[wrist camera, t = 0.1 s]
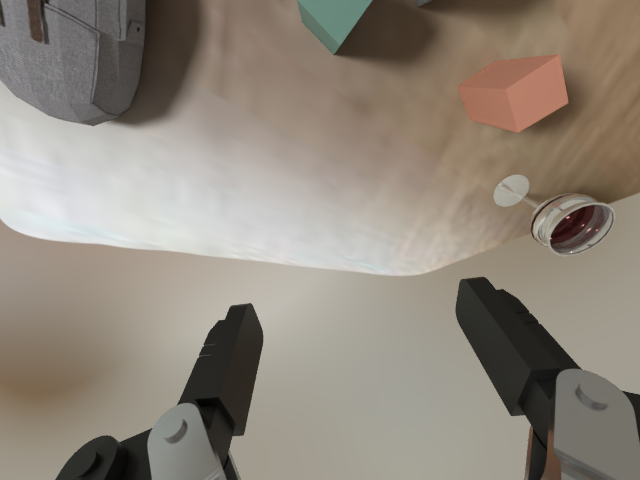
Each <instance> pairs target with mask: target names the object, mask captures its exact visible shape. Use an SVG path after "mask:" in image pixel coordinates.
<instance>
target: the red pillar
mask: <svg viewBox="0 0 640 480" xmlns="http://www.w3.org/2000/svg"><path fill="white" fill-rule="evenodd" d="M458 89H459V92H460V95H461V97H462V100H463V103H464V105H465V108H466V111H467V113H468V116H469V119H470V120H472V121H475V122H479V123H483V124H487V125H491V126H495V127H498V128H502V129H506V130H510V131H514V132H518V133H519V132H520V131H522V130H524V129H525V128H527V127H529V126H530V125H532V124H534V123H535V122H537V121H539V120H541V119H542V118H544V117H546V116H547V115H549V114H551V113H552V112H554V111H556V110H557V109H559V108H561V107H562V106H564V105H566V104H567V103H569V102H568V97H567V92H566V86H565V81H564V76H563V70H562V65H561V60H560V54H558V55H548V56H539V57H530V58H520V59H511V60H501V61H495V62H493V63H492V64H490V65H489V66H487V67H486V68H484V69H483V70H482V71H480V72H479V73H477V74H476V75H474V76H473V77H471V78H470V79H468V80H467V81H465V82H464V83H463V84H461V85H460V86H458Z"/></svg>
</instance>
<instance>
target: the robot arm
mask: <svg viewBox="0 0 640 480" xmlns="http://www.w3.org/2000/svg"><path fill="white" fill-rule="evenodd" d="M456 316H457V320H458V323H459V325H460V327H461V329H462V330H463V332H464V334H465V336H466V337H467V339H468V341H469V343H470V344H471V346H472V348H473V349H474V351H475V353H476V355H477V357H478V358H479V360H480V362H481V364H482V366H483V367H484V369H485V371H486V373H487V375H488V376H489V378H490V380H491V381H492V383H493V385H494V387H495V388H496V390H497V392H498V394H499V396H500V397H501V399H502V401H503V403H504V405H505V406H506V408H507V410H508V411H509V413H510V415H511V416H518V415H526V417H527V419H528V420H529V422H530V424H531V427H530V430H529V439H528V449H527V458H526V468H525V478H524V480H640V395H639V394H634V393H629V392H625V391H621V390H620V389H619V388H617V387H616V386H615V385H614V384H612V383H611V382H609V381H608V380H606V379H605V378H603V377H601V376H599V375H597V374H594V373H592V372H589V371H586V370H582V369H581V368H580V367H579V366H578V365H577V364H576V363H575V362H574V361H573V359H572V358H571V357H570V356H569V355H568V354H567V353H566V352H565V351H564V350H563V348H562V347H561V346H560V345H559V344H558V343H557V342H556V341H555V339H554V338H553V337H552V336H551V335H550V334H549V333H548V332H547V330H546V329H545V328H544V327H543V326H542V325H541V324H539V323H538V320H537V319H536V318H535V317H534V316H533V315H532V314H530V313H529V311H528V309H527V308H526V307H525V306H524V305H523V304H522V303H521V302H520V300H519V299H517V298H516V297H514V296H513V295H511V294H509V293H508V292H506V291H505V290H503V289H501V290H496V289H495V288H494V287H493V285H492V284H491V283H490V282H489V281H488V279H486V278H485V277H477V278H468V279H462V280H461V281H460V283H459V290H458V296H457V302H456ZM262 346H263V331H262V328H261V325H260V322H259V320H258V317H257V315H256V312H255V310H254V308H253V305H252V304H251V303H249V304H240V305H232V306H231V307H230V308H229V311H228V313H227V316H226V318H225V320H219V321H218V322H217V323H216V324H215V326H214V327H213V328H212V329H211V330H210V332H209V333H208V336H207V338H206V340H205V343H204V347H202V349H201V352H200V354H199V358H198V359H197V361H196V363H195V366H194V368H193V370H192V373H191V375H190V377H189V380H188V382H187V384H186V387H185V389H184V391H183V394H182V396H181V398H180V400H179V402H178V404H177V405H176V406H174V407H173V408H171V409H169V410H168V411H167V412H166V413H164V414H163V415H162V416H161V417H160V418H159V420H158V421H157V422H156V424H155V425H154V427H153V428H151V429H149V430H147V431H145V432H142V433H140V434H138V435H136V436H133V437H131V438H129V439H126V440H124V441H121V442H118V441H117V440H116V439H115V438H113V437H111V436H100V437H98V438H95V439H93V440H91V441H89V442H88V443H86V444H85V445H84V446H82V447H81V448H80V449H79V450H78V451H77V452H75V453H74V455H73V456H72V457H71V458H70V459H69V460H68V461H67V463H66V464H65V465H64V467H63V469H62V470H61V471H60V473H59V475H58V476H57V478H56V480H241V479H240V476H239V473H238V471H237V468H236V466H235V463H234V460H233V458H232V455H231V453H230V450H229V448H230V443H231V440H232V436H242V435H244V432H245V427H246V422H247V417H248V412H249V407H250V403H251V398H252V393H253V389H254V383H255V379H256V374H257V370H258V365H259V360H260V355H261V351H262Z"/></svg>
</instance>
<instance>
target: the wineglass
mask: <svg viewBox="0 0 640 480" xmlns="http://www.w3.org/2000/svg"><path fill="white" fill-rule="evenodd" d="M528 190H529V181H528V179H527V178H526V177H525V176H523V175H512V176H509V177H507V178H505V179H504V180H503V181H501V182H500V183H499V184H498V186H497V187H496V189H495V191H494V201H495V203H496V204H497V205H499V206H502V207H508V206H512V205H514V204H516V203H518V202H519V201H521V200H523V201H525V202H526V203H528V204H529V205H531V206H532V207H534V208H535V211H534V213H533V215H532V217H531V219H530V224H529V227H530V231H531V233H532V236H533V238H534V239H535V240H536V241H537V242H539V243H540V244H541V245H543V246H546V247H549V249H550V250H551V251H552V252H553V253H554V254H557V255H560V256H572V255H577V254H581V253H583V252H585V251H588V250H590V249H592V248H593V247H595V246H596V245H598V244H599V243H600V242H602V241H603V240H604V239H605V238H606V237H607V236H608V234H609V233H610V231H611V230H612V229H613V227H614V224H615V221H616V215H615V211H614V209H613V208H612V207H611V206H609V205H607V204H605V203H599V202H598V201H597V200H596V199H594V198H592V197H590V196H588V195H584V194H580V193H564V194H559V195H556V196H554V197H552V198H550V199H548V200H546V201H544V202H543V203H541V204H539V203H537V202H535V201H533V200H531V199H529V198H527V197H525V195H526V194H527V192H528Z"/></svg>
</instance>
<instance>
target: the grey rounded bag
mask: <svg viewBox="0 0 640 480" xmlns="http://www.w3.org/2000/svg"><path fill="white" fill-rule="evenodd" d="M145 11H146V0H0V80H1V81H2V82H3V83H4V84H5V85H6V87H7V88H8V89H9V90H10V91H11V92H12V93H13V94H14V95H15V96H16V97H18V98H20V99H21V100H23V101H25V102H26V103H28V104H30V105H32V106H33V107H35V108H37V109H38V110H40V111H42V112H44V113H45V114H47V115H49V116H52V117H55V118H58V119H61V120H65V121H70V122H75V123H81V124H86V125H91V126H95V125H97V124H100V123H103V122H106V121H109V120H111V119H114V118H117V117H119V116H120V115H122V114H123V113H124V112H125V111H126V110H127V109H128V108H129V107H130V105H131V102H132V100H133V97H134V94H135V92H136V89H137V87H138V84H139V78H140V70H141V63H142V55H143V48H144V39H145Z"/></svg>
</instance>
